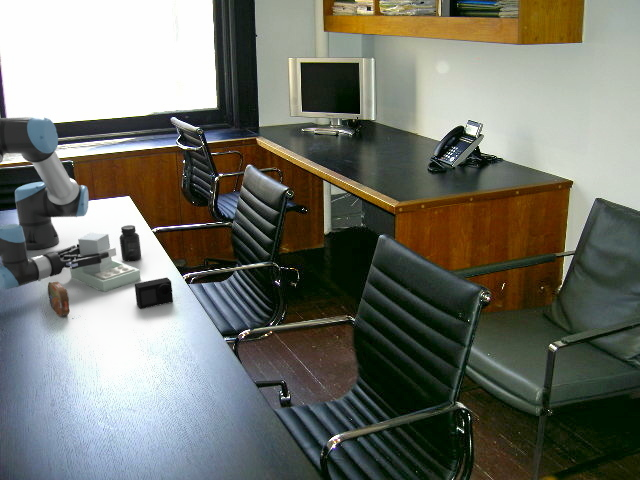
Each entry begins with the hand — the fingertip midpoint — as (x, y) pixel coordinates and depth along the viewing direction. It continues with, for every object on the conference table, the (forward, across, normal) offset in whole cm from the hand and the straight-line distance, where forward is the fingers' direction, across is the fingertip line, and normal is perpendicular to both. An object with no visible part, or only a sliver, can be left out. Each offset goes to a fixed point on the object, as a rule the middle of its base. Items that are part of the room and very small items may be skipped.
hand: (107, 248), depth 267 cm
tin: (-28, +18, -9) cm, 35 cm away
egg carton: (-4, +10, -9) cm, 14 cm away
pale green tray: (-4, +4, -9) cm, 11 cm away
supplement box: (-4, 0, -7) cm, 9 cm away
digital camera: (-6, +35, -9) cm, 37 cm away
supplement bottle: (+13, -6, -9) cm, 16 cm away
